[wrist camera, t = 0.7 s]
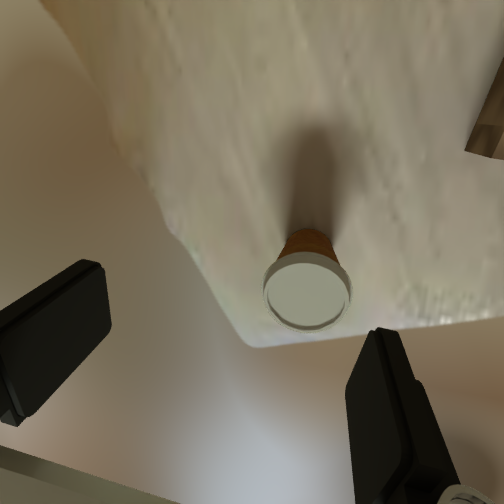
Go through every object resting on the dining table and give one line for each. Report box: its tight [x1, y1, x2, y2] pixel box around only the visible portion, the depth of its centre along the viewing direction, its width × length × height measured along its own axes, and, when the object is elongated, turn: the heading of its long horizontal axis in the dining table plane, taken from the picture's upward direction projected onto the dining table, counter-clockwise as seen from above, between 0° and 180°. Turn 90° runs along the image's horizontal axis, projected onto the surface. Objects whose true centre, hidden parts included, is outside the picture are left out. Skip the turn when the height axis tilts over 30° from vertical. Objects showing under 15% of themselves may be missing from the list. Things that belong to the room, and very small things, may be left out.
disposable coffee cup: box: [261, 229, 353, 333], centre depth 35 cm, size 10×10×12 cm
